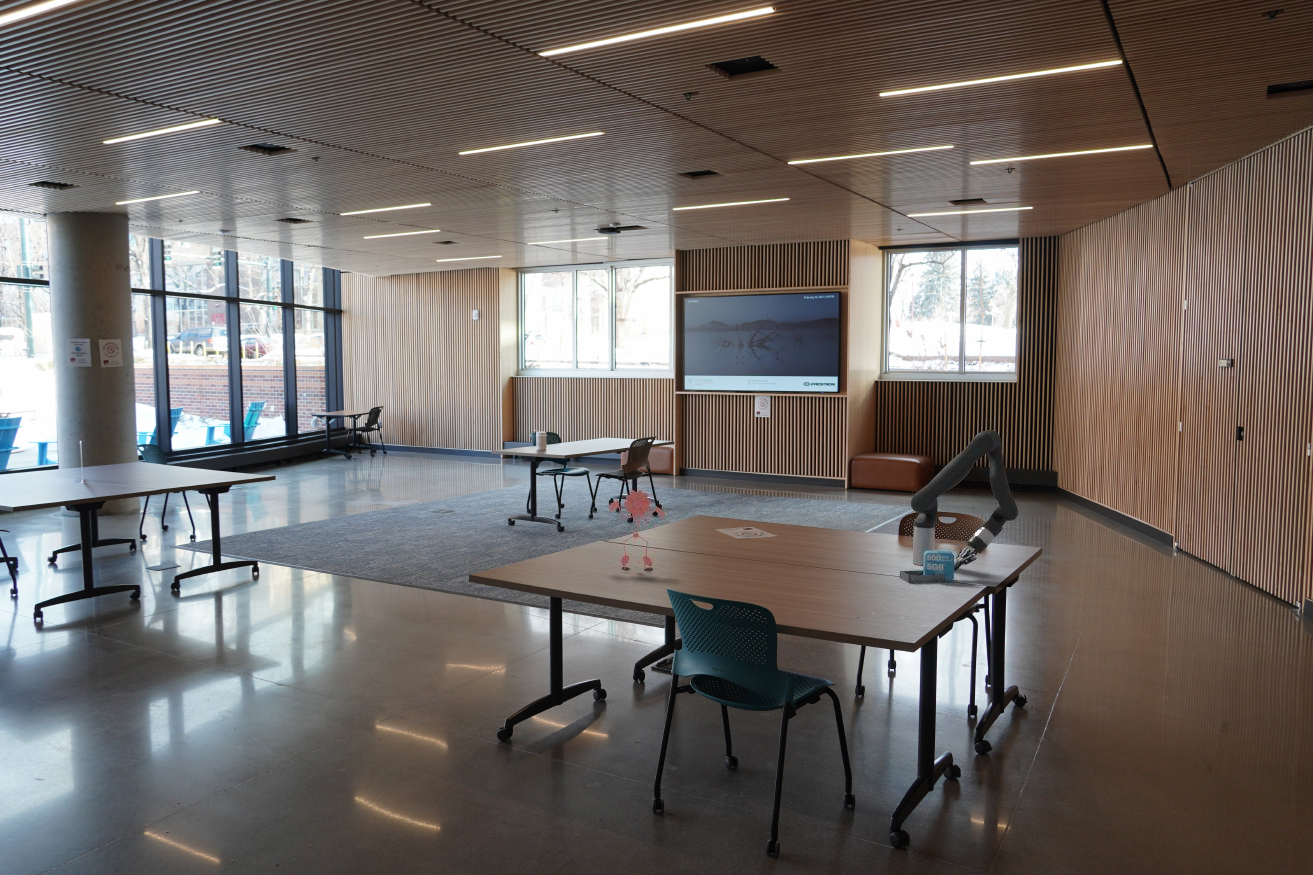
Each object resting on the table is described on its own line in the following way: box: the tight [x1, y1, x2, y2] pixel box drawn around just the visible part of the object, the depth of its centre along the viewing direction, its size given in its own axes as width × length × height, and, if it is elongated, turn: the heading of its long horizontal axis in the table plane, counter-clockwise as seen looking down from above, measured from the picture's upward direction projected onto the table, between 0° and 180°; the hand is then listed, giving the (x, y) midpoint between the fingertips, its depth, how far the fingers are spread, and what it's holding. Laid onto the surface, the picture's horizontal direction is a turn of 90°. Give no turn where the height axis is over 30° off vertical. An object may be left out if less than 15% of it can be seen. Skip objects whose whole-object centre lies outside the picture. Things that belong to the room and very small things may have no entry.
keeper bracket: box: [899, 569, 946, 584], centre depth 381 cm, size 10×16×3 cm, turn 98°
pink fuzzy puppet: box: [608, 489, 666, 571], centre depth 405 cm, size 15×26×35 cm, turn 80°
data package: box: [922, 550, 955, 582], centre depth 381 cm, size 12×4×12 cm, turn 81°
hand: (953, 569), depth 383 cm, fingers closed
